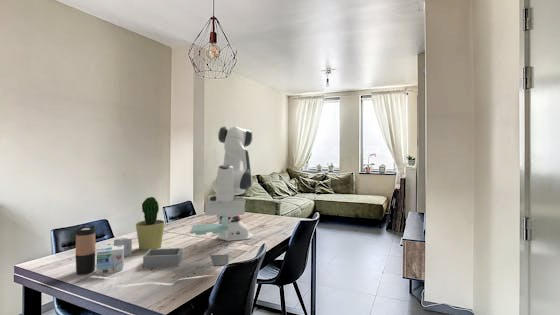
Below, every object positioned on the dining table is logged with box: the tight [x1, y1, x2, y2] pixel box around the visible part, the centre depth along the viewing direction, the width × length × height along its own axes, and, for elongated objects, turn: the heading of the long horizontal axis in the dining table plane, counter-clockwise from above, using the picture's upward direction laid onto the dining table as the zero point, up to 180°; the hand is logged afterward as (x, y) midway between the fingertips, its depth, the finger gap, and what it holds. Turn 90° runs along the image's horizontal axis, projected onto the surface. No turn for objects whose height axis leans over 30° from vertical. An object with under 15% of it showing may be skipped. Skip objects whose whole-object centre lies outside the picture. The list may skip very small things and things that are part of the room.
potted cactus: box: [135, 196, 165, 251], centre depth 173 cm, size 15×15×30 cm
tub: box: [142, 247, 183, 269], centre depth 148 cm, size 16×11×6 cm
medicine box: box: [113, 237, 133, 258], centre depth 160 cm, size 8×4×9 cm, turn 71°
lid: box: [189, 217, 228, 236], centre depth 153 cm, size 18×14×6 cm
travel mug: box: [75, 226, 96, 276], centre depth 138 cm, size 8×8×20 cm
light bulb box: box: [95, 245, 125, 275], centre depth 139 cm, size 11×7×11 cm, turn 114°
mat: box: [210, 253, 230, 267], centre depth 154 cm, size 19×15×1 cm
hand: (224, 223), depth 155 cm, fingers closed on lid, 3 cm apart
